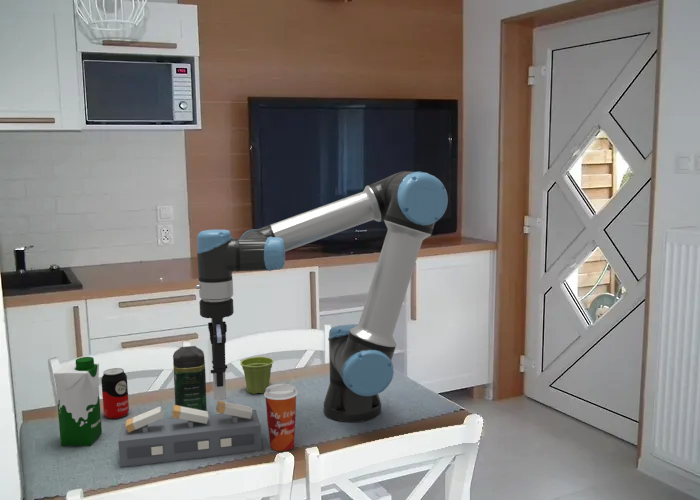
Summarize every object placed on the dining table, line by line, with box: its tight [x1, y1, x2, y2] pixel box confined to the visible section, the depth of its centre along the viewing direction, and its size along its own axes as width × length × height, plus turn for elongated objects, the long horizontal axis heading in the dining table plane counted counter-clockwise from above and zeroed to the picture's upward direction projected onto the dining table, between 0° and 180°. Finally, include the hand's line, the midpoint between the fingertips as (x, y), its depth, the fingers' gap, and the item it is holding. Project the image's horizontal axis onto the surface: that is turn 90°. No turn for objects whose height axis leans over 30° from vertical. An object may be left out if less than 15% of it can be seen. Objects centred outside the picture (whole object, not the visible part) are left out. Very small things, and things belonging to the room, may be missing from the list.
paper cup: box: [263, 383, 299, 452], centre depth 160 cm, size 8×8×14 cm
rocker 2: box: [171, 404, 209, 424], centre depth 158 cm, size 8×4×2 cm, turn 105°
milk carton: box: [52, 356, 103, 447], centre depth 164 cm, size 9×9×20 cm
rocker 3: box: [215, 399, 253, 419], centre depth 161 cm, size 8×4×2 cm, turn 105°
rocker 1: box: [125, 406, 164, 432], centre depth 156 cm, size 8×4×2 cm, turn 104°
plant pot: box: [239, 356, 275, 395], centre depth 197 cm, size 9×9×9 cm
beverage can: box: [100, 367, 130, 420], centre depth 180 cm, size 6×6×12 cm
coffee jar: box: [172, 345, 208, 411], centre depth 177 cm, size 10×8×19 cm
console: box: [117, 409, 263, 468], centre depth 159 cm, size 31×10×7 cm, turn 104°
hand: (220, 398), depth 160 cm, fingers closed
